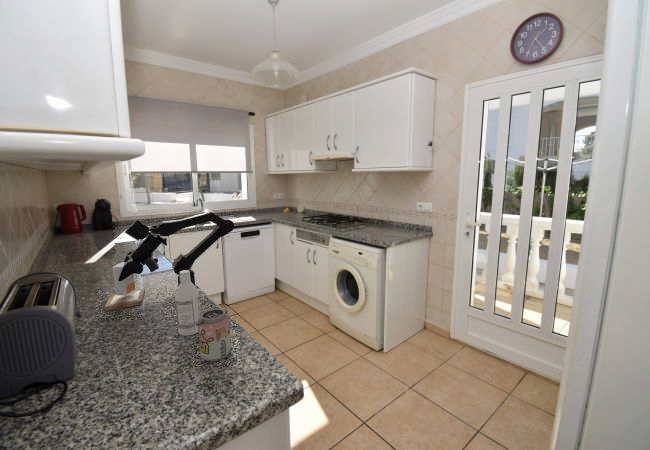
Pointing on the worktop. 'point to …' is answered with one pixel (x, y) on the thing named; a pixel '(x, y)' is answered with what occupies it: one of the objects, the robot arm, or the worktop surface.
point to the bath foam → (187, 305)
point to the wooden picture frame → (125, 300)
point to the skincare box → (126, 284)
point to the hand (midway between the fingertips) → (119, 277)
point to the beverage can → (214, 334)
